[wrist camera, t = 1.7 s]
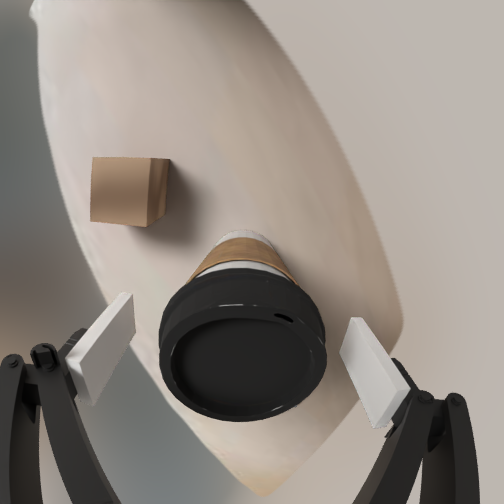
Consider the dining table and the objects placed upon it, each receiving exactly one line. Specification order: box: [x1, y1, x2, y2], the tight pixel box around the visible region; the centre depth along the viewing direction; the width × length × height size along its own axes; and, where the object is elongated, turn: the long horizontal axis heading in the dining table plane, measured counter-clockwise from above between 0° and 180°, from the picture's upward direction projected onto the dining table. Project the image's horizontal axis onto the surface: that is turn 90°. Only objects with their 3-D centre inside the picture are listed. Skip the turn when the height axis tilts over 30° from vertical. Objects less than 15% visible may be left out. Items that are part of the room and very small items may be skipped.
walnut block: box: [90, 157, 170, 227], centre depth 20 cm, size 5×5×5 cm
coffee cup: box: [159, 230, 327, 422], centre depth 18 cm, size 8×8×15 cm
